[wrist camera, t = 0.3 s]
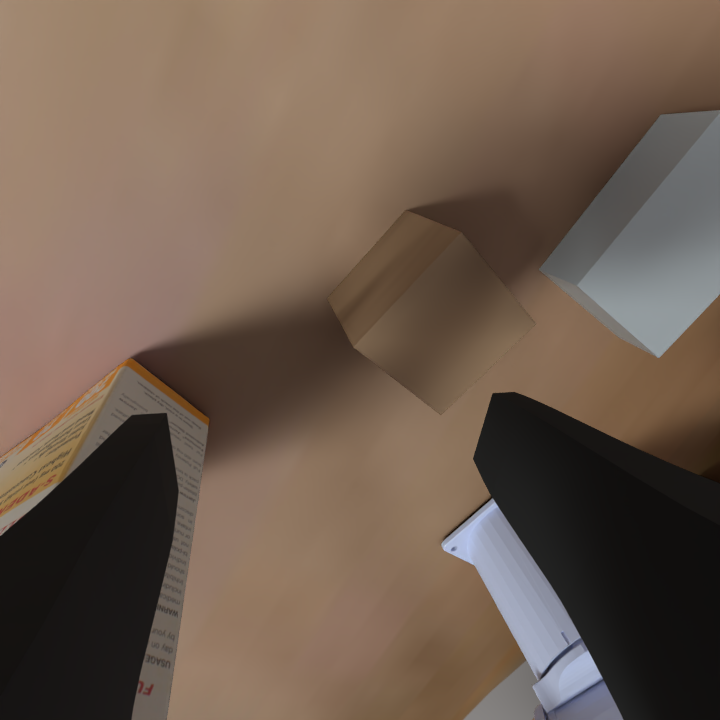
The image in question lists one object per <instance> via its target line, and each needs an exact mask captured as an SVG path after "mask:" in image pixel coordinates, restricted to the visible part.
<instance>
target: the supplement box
mask: <svg viewBox="0 0 720 720" xmlns="http://www.w3.org/2000/svg"><path fill="white" fill-rule="evenodd" d="M155 413H167V417H168V423H169V430H170V436H171V443H172V449H173V456H174V462H175V469H176V475H177V482H178V488H179V494H178V503H177V512H176V520H175V528H174V535H173V542H172V546H171V550H170V555H169V559H168V563H167V567H166V571H165V575H164V580H163V584H162V588H161V592H160V596H159V600H158V604H157V608H156V612H155V616H154V620H153V624H152V628H151V632H150V636H149V640H148V645H147V649H146V653H145V657H144V661H143V665H142V669H141V673H140V678H139V683H138V688H137V692H136V697H135V702H134V707H133V713H132V720H167V714H168V707H169V700H170V693H171V687H172V680H173V672H174V665H175V658H176V651H177V644H178V637H179V630H180V623H181V617H182V610H183V602H184V594H185V587H186V580H187V575H188V566H189V560H190V553H191V546H192V540H193V533H194V525H195V518H196V512H197V504H198V499H199V491H200V483H201V477H202V470H203V463H204V455H205V449H206V443H207V435H208V427H209V422H210V420H209V418H208V417H206V416H205V415H204V414H202V413H201V412H200V411H198V410H197V409H196V408H195V407H193V406H192V405H191V404H189V402H188V401H186V400H185V399H183V398H182V397H181V396H180V395H178V394H177V393H176V392H175V391H173V390H172V389H171V388H170V387H168V386H167V385H165V384H164V383H163V382H162V381H160V380H159V379H158V378H157V377H155V376H154V375H153V374H151V373H150V372H149V371H147V370H146V369H145V368H144V367H143V366H141V365H140V364H139V363H137V362H136V361H135V360H134V359H131V358H130V359H128V360H126V361H125V362H123V363H122V364H120V365H119V366H118V367H116V368H115V369H114V370H113V371H111V372H110V373H109V374H108V375H107V376H105V377H104V378H103V379H102V380H101V381H99V382H98V383H97V384H95V385H94V386H93V387H92V388H91V389H89V390H88V391H87V392H86V393H85V394H83V395H82V396H81V397H80V398H78V399H77V400H76V401H75V402H74V403H72V404H71V405H70V406H69V407H68V408H66V409H65V410H64V411H63V412H62V413H60V414H59V415H58V416H57V417H56V418H54V419H53V420H52V421H51V422H49V423H48V424H47V425H45V426H44V427H43V428H41V429H40V430H39V431H37V432H36V433H35V434H33V435H31V436H30V437H29V438H27V439H26V440H24V441H23V442H21V443H20V444H19V445H17V446H16V447H14V448H13V449H11V450H10V451H9V452H7V453H6V454H4V455H3V456H2V457H1V458H0V536H1V535H2V534H3V533H4V532H5V531H6V530H8V529H9V528H10V527H11V526H12V525H13V524H15V523H16V522H17V521H18V520H19V519H20V518H22V517H23V516H24V515H25V514H26V513H27V512H29V511H30V510H31V509H32V508H33V507H34V506H36V505H37V504H38V503H39V502H40V501H41V500H42V499H43V498H44V497H46V496H47V495H48V494H49V493H50V492H51V491H52V490H53V489H54V488H55V487H56V486H57V485H58V484H60V483H61V482H62V481H63V480H64V479H65V478H66V477H67V476H68V475H69V474H70V473H71V472H73V471H74V470H75V469H76V468H77V467H78V466H79V465H80V464H81V463H82V462H83V461H84V460H85V459H86V458H87V457H88V456H89V455H90V454H91V453H92V452H93V451H94V450H96V449H97V448H98V447H99V446H100V445H101V444H102V443H103V442H104V441H105V440H106V439H107V438H108V437H109V436H110V435H111V434H112V433H113V432H114V431H115V430H116V429H117V428H118V427H119V426H120V425H121V424H123V423H124V422H125V421H126V420H127V419H128V418H129V417H130V416H131V415H138V414H155Z"/></svg>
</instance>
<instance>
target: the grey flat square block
mask: <svg viewBox="0 0 720 720" xmlns="http://www.w3.org/2000/svg"><path fill="white" fill-rule="evenodd" d="M539 270H540V271H541V272H542V273H543V274H544V275H546V276H547V277H548V278H549V279H550V280H551V281H553V282H554V283H555V284H556V285H557V286H559V287H560V288H561V289H562V290H563V291H564V292H566V293H567V294H568V295H569V296H570V297H572V298H573V299H574V300H575V301H576V302H577V303H579V304H580V305H581V306H582V307H583V308H584V309H586V310H587V311H588V312H589V313H590V314H592V315H593V316H594V317H595V318H596V319H597V320H599V321H600V322H601V323H602V324H603V325H605V326H606V327H607V328H608V329H609V330H610V331H612V332H613V333H614V334H615V335H616V336H617V337H619V338H621V339H623V340H625V341H627V342H628V343H630V344H632V345H634V346H636V347H638V348H640V349H642V350H644V351H646V352H648V353H650V354H652V355H654V356H656V357H658V358H659V357H660V356H661V355H662V354H663V353H664V352H665V351H666V350H667V349H668V348H669V347H670V346H671V345H672V344H673V343H674V342H675V341H676V340H677V339H678V338H679V336H680V335H681V334H682V333H683V332H684V331H685V330H686V329H687V328H688V327H689V326H690V325H691V324H692V323H693V322H694V321H695V320H696V319H697V318H698V317H699V315H700V314H701V313H702V312H703V311H704V310H705V309H706V308H707V307H708V306H709V305H710V304H711V303H712V302H713V301H714V300H715V299H716V298H717V297H718V296H719V294H720V110H715V111H702V112H688V113H675V114H662V115H660V116H659V117H658V119H657V120H656V121H655V123H654V124H653V125H652V126H651V128H650V129H649V130H648V131H647V133H646V134H645V135H644V137H643V138H642V139H641V140H640V142H639V143H638V144H637V145H636V147H635V148H634V149H633V151H632V152H631V153H630V154H629V156H628V157H627V158H626V159H625V161H624V162H623V163H622V164H621V166H620V167H619V168H618V170H617V171H616V172H615V173H614V175H613V176H612V177H611V178H610V180H609V181H608V182H607V184H606V185H605V186H604V187H603V189H602V190H601V191H600V192H599V194H598V195H597V196H596V198H595V199H594V200H593V201H592V203H591V204H590V205H589V206H588V208H587V209H586V210H585V212H584V213H583V214H582V215H581V217H580V218H579V219H578V220H577V222H576V223H575V224H574V225H573V227H572V228H571V229H570V231H569V232H568V233H567V234H566V236H565V237H564V238H563V239H562V241H561V242H560V243H559V245H558V246H557V247H556V248H555V250H554V251H553V252H552V253H551V255H550V256H549V257H548V259H547V260H546V261H545V262H544V264H543V265H542V266H541V267H540V269H539Z"/></svg>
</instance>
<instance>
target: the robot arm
mask: <svg viewBox="0 0 720 720" xmlns="http://www.w3.org/2000/svg"><path fill="white" fill-rule="evenodd" d="M473 460H474V462H475V464H476V466H477V468H478V470H479V473H480V475H481V477H482V479H483V481H484V483H485V485H486V487H487V489H488V491H489V493H490V495H491V496H492V499H491V500H490V501H489V502H488V503H486V504H485V505H484V506H483V507H482V508H481V509H479V510H478V511H477V512H476V513H475V514H474V515H473V516H471V517H470V518H469V519H468V520H467V521H466V522H464V523H463V524H462V525H461V526H460V527H459V528H458V529H456V530H455V531H454V532H453V533H452V534H451V535H449V536H448V537H447V538H446V539H445V540H444V541H443V542H442V544H441V545H442V548H443V550H444V551H446V552H448V553H450V554H452V555H454V556H457V557H459V558H461V559H463V560H465V561H467V562H469V563H471V564H473V565H475V567H476V569H477V570H478V572H479V574H480V576H481V578H482V579H483V581H484V583H485V585H486V587H487V589H488V590H489V592H490V594H491V596H492V598H493V599H494V601H495V603H496V605H497V607H498V609H499V610H500V612H501V614H502V616H503V618H504V620H505V621H506V623H507V625H508V627H509V629H510V630H511V632H512V634H513V636H514V638H515V640H516V641H517V643H518V645H519V647H520V649H521V650H522V652H523V654H524V656H525V658H526V660H527V661H528V663H529V665H530V667H531V669H532V670H533V672H534V674H535V676H536V678H537V680H538V682H537V683H535V684H534V685H533V689H534V691H535V692H536V694H537V696H538V698H539V700H540V702H541V704H540V705H538V706H537V707H536V708H535V711H534V717H535V720H720V483H717V482H715V481H712V480H710V479H707V478H704V477H702V476H699V475H697V474H694V473H692V472H690V471H687V470H685V469H682V468H680V467H678V466H675V465H673V464H671V463H668V462H666V461H664V460H662V459H659V458H657V457H655V456H653V455H650V454H648V453H646V452H644V451H641V450H639V449H637V448H635V447H633V446H631V445H628V444H626V443H624V442H622V441H620V440H618V439H616V438H613V437H611V436H609V435H607V434H605V433H603V432H601V431H599V430H597V429H595V428H593V427H591V426H589V425H587V424H584V423H582V422H580V421H578V420H576V419H574V418H572V417H570V416H568V415H566V414H564V413H562V412H560V411H558V410H555V409H553V408H551V407H549V406H547V405H545V404H543V403H540V402H538V401H536V400H534V399H531V398H529V397H526V396H524V395H521V394H518V393H516V392H507V393H493V394H492V397H491V401H490V404H489V407H488V411H487V414H486V417H485V421H484V424H483V427H482V431H481V434H480V437H479V441H478V444H477V447H476V451H475V454H474V457H473ZM178 494H179V488H178V482H177V475H176V469H175V462H174V456H173V449H172V443H171V436H170V430H169V423H168V417H167V413H155V414H138V415H131V416H130V417H129V418H128V419H127V420H126V421H125V422H124V423H123V424H121V425H120V426H119V427H118V428H117V429H116V430H115V431H114V432H113V433H112V434H111V435H110V436H109V437H108V438H107V439H106V440H105V441H104V442H103V443H102V444H101V445H100V446H99V447H98V448H97V449H96V450H94V451H93V452H92V453H91V454H90V455H89V456H88V457H87V458H86V459H85V460H84V461H83V462H82V463H81V464H80V465H79V466H78V467H77V468H76V469H75V470H74V471H73V472H71V473H70V474H69V475H68V476H67V477H66V478H65V479H64V480H63V481H62V482H61V483H60V484H58V485H57V486H56V487H55V488H54V489H53V490H52V491H51V492H50V493H49V494H48V495H47V496H46V497H44V498H43V499H42V500H41V501H40V502H39V503H38V504H37V505H36V506H34V507H33V508H32V509H31V510H30V511H29V512H27V513H26V514H25V515H24V516H23V517H22V518H20V519H19V520H18V521H17V522H16V523H15V524H13V525H12V526H11V527H10V528H9V529H8V530H6V531H5V532H4V533H3V534H2V535H1V536H0V720H132V713H133V707H134V702H135V697H136V692H137V688H138V683H139V678H140V673H141V669H142V665H143V661H144V657H145V653H146V649H147V645H148V640H149V636H150V632H151V628H152V624H153V620H154V616H155V612H156V608H157V604H158V600H159V596H160V592H161V588H162V584H163V580H164V575H165V571H166V567H167V563H168V559H169V555H170V550H171V546H172V542H173V535H174V528H175V520H176V512H177V503H178Z"/></svg>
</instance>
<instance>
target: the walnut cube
mask: <svg viewBox="0 0 720 720" xmlns="http://www.w3.org/2000/svg"><path fill="white" fill-rule="evenodd" d="M327 300H328V301H329V303H330V305H331V307H332V309H333V311H334V312H335V314H336V316H337V318H338V320H339V322H340V324H341V325H342V327H343V329H344V331H345V333H346V335H347V336H348V338H349V340H350V342H351V344H352V346H353V347H354V348H355V349H356V350H358V351H359V352H360V353H361V354H363V355H364V356H365V357H367V358H368V359H369V360H371V361H372V362H373V363H374V364H376V365H377V366H378V367H380V368H381V369H382V370H383V371H385V372H386V373H387V374H389V375H390V376H391V377H392V378H394V379H395V380H396V381H398V382H399V383H400V384H401V385H403V386H404V387H405V388H407V389H408V390H409V391H410V392H412V393H413V394H414V395H416V396H417V397H418V398H419V399H421V400H422V401H423V402H425V403H426V404H427V405H428V406H430V407H431V408H432V409H434V410H435V411H436V412H437V413H439V414H440V415H442V414H443V413H444V412H445V411H446V410H447V409H448V408H449V407H450V406H451V405H452V404H453V403H454V402H455V401H456V400H457V399H458V398H459V397H461V396H462V395H463V394H464V393H465V392H466V391H467V390H468V389H469V388H470V387H471V386H472V385H473V384H474V383H475V382H476V381H477V380H478V379H479V378H480V377H481V376H483V375H484V374H485V373H486V372H487V371H488V370H489V369H490V368H491V367H492V366H493V365H494V364H495V363H496V362H497V361H498V360H499V359H500V358H501V357H502V356H503V355H505V354H506V353H507V352H508V351H509V350H510V349H511V348H512V347H513V346H514V345H515V344H516V343H517V342H518V341H519V340H520V339H521V338H522V337H523V336H524V335H525V334H527V333H528V332H529V331H530V330H531V329H532V328H533V327H534V326H535V325H536V323H535V321H534V320H533V319H532V318H531V317H530V315H529V314H528V313H527V312H526V310H525V309H524V308H523V307H522V306H521V304H520V303H519V302H518V301H517V299H516V298H515V297H514V296H513V295H512V293H511V292H510V291H509V290H508V288H507V287H506V286H505V285H504V283H503V282H502V281H501V280H500V279H499V277H498V276H497V275H496V274H495V272H494V271H493V270H492V269H491V268H490V266H489V265H488V264H487V263H486V261H485V260H484V259H483V258H482V257H481V255H480V254H479V253H478V252H477V250H476V249H475V248H474V247H473V245H472V244H471V243H470V242H469V241H468V239H467V238H466V237H465V236H464V234H463V233H462V232H460V231H458V230H455V229H453V228H450V227H448V226H445V225H443V224H440V223H438V222H435V221H432V220H430V219H427V218H425V217H422V216H420V215H417V214H415V213H412V212H410V211H407V210H406V211H405V212H404V213H403V214H402V215H401V216H400V217H399V218H398V219H397V221H396V222H395V223H394V224H393V225H392V226H391V227H390V228H389V230H388V231H387V232H386V233H385V234H384V235H383V236H382V237H381V239H380V240H379V241H378V242H377V243H376V244H375V245H374V246H373V247H372V249H371V250H370V251H369V252H368V253H367V254H366V255H365V256H364V258H363V259H362V260H361V261H360V262H359V263H358V264H357V265H356V266H355V268H354V269H353V270H352V271H351V272H350V273H349V274H348V275H347V277H346V278H345V279H344V280H343V281H342V282H341V283H340V284H339V285H338V287H337V288H336V289H335V290H334V291H333V292H332V293H331V294H330V296H329V297H328V298H327Z"/></svg>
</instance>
